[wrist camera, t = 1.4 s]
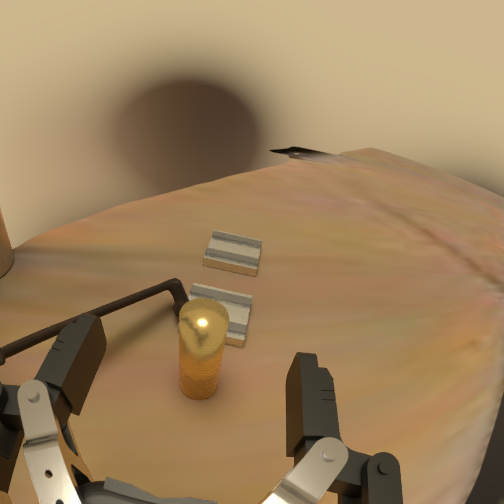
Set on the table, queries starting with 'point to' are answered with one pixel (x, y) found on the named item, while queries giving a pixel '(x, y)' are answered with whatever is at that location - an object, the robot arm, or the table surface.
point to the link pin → (201, 346)
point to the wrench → (49, 332)
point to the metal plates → (235, 260)
